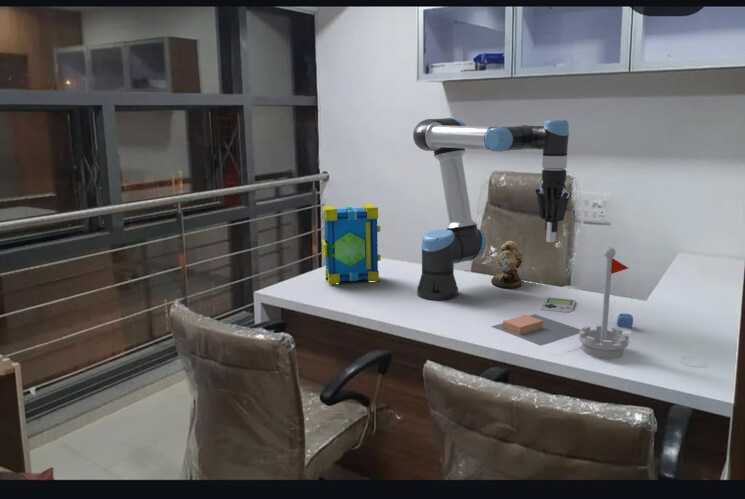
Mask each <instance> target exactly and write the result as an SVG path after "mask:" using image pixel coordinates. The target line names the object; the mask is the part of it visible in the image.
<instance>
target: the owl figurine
mask: <svg viewBox="0 0 745 499" xmlns="http://www.w3.org/2000/svg"><path fill="white" fill-rule="evenodd" d="M497 258H498V259H497V261H498V262H497V264H498V267H500V268H501V270H502V272H501V273H495V274H494V275H493V277H492V278H491V279H490V280H491V281H490V282H491V284H492V285H493V286H494V287H495V288H500V289H503V290H513V289H514V290H515V289H519V288H520V287H522V285H523V280H522V278H520V275H519V274H518V270H517V269H519V268H520V267H521V264H522V263H523V251H522V250H521V249H520V246H519V244H518V243H517V242H516V241H513V240H506V241H505V243H503V244H501V247H500V251H499V253H498V256H497Z"/></svg>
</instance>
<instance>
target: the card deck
mask: <svg viewBox="0 0 745 499" xmlns="http://www.w3.org/2000/svg"><path fill="white" fill-rule="evenodd" d="M502 323H503V329H506V330H509V331H511V332H514V333H516V334H519V335H521V334H524V333H528V332H531V331H534V330H538V329H541V328H543V321H542V320H539V319H536V318H534V317H531V316H530V315H528V314H524V315H520V316H516V317H513V318H509V319H506V320H503V322H502Z"/></svg>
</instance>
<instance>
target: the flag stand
mask: <svg viewBox="0 0 745 499" xmlns="http://www.w3.org/2000/svg"><path fill="white" fill-rule="evenodd" d="M616 253H617V252H616V249H614V248H613V247H606V248H605V249H604V251H603V254H604V257H606V259H605V260H606V262H605V272H604V273H605V274H604V285H603V286H604V287H603V288H604V289H603V301H602V302H603V303H602V314H601V316H602V317H601V325H598V324H597V325H595V329H593V328H592V329H591V327H590V326H588V325H586V326H583V327H581V330H582V331H580V332H579V335H578V340H579V342H580V343H581V344H582V346H581V348H582V349H581V350H582V352H583V353H584V354H586V355H587V356H590V357H593V358H598V359H603V360H604V359H606V360H610V359H612V360H613V359H614V360H615V359H618V358H621V357H623V356H624V355H625V354H624V352H625V351H624V350H625V349H626V348H627V347H628V346H629V343H630V342H629V341H630V340H629V339H630V335H629V333H628V332H624V333H623V330H622V329H621V328H617V327H613V328H612V330H610V329H608V324H609V322H608V321H609V310H610V297H611V296H610V295H611V284H612V283H611V282H612V274H616V273H618V272H622V271H625V270H627V269H628V270H629V267H628V266H626V265H624V264H623V263H621V262H619V261H618V260H617V259H615V258H614V257H615V256H616Z"/></svg>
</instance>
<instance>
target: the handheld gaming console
mask: <svg viewBox="0 0 745 499" xmlns="http://www.w3.org/2000/svg"><path fill="white" fill-rule="evenodd" d="M576 302H577V301H576V299H571V298H570V299H569V298H559V297H551V296H550V297H549V296H546V298H545V299H544V301H543V304H542V305H541V307H540V311H541V310H542V311H547V312H557V313H567V314H568V313H571V312H572V311H573V310H574V308H575V306H576Z"/></svg>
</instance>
